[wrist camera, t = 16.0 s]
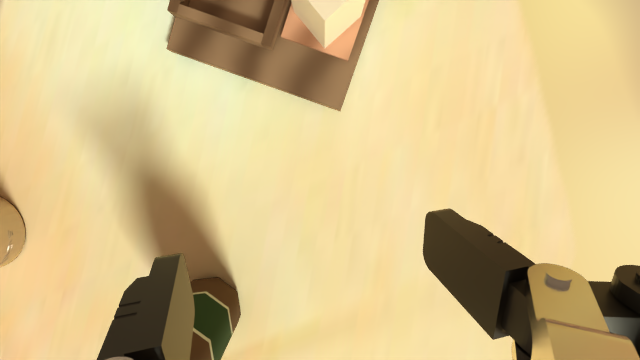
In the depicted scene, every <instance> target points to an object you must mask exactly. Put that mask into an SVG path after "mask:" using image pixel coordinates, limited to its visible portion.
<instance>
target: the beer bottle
mask: <svg viewBox="0 0 640 360" xmlns="http://www.w3.org/2000/svg"><path fill="white" fill-rule="evenodd" d="M190 284H191V288H192V292H193V298H194V307H195V316H194V326H193V335H192V344H191V353H190V360H221V358H222V355H223V353H224V351H225V349H226V347H227V345H228V343H229V340H230V338H231V336H232V334H233V332H234V330H235V328H236V326H237V323H238V321H239V318H240V315H241V312H240V306H239V300H238V293H237V291H236V290H235V289H233V288H232V287H231V286H229V285H228V284H227V283H225V282H224V281H222V280H221V279H220V278H218V277H216V278H207V279H198V280H193V281H192V282H191V283H190Z"/></svg>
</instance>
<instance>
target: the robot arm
mask: <svg viewBox="0 0 640 360" xmlns="http://www.w3.org/2000/svg"><path fill="white" fill-rule="evenodd" d="M24 242H25V227H24V224H23V220H22V218H21V216H20V214H19V213H18V211H17V210H16V209H15V208H14V206H13V205H12V204H10V203H9V202H8V201H7V200H5V199H3V198H2V197H0V267H2V266H5V265H7V264H8V263H10V262H12V261H13V260H14V259H15V258H16V257H17V256H18V255H19V254H20V252H21V251H22V248H23V245H24ZM423 256H424V260H425V263H426V265H427V267H428V268H429V270H430V271H431V272H432V273H433V274H434V275H435V276H436V277H437V278H438V279H439V281H440V282H441V283H442V284H443V285H444V286H445V287H446V288H447V289H448V291H449V292H450V293H451V294H452V295H453V296H454V297H455V298H456V299H457V300H458V302H459V303H460V304H461V305H462V306H463V307H464V308H465V309H466V310H467V312H468V313H469V314H470V315H471V316H472V317H473V318H474V319H475V320H476V321H477V323H478V324H479V325H480V326H481V327H482V328H483V329H484V330H485V331H486V333H487V334H488V335H489V336H490V337H491V338H492V339H493V340H494V339H497V338H501V337H505V336H509V335H510V336H511V337H512V338H513V343H512V349H511V350H512V360H640V266H636V265H623V266H620V267H618V268H617V269H616V270H615V273H614V276H613V279H612V282H594V281H587V280H586V279H585V278H584V277H582V276H581V275H580V274H578V273H577V272H575V271H573V270H571V269H568V268H566V267H563V266H559V265H555V264H547V263H541V264H535V263H533V262H532V261H531V260H529V259H528V258H526V257H525V256H524V255H522V254H521V253H519V252H518V251H517V250H515V249H514V248H512V247H511V246H510V245H508V244H507V243H503V241H502V240H501V239H500V238H498V237H497V236H494V235H493V233H491V232H490V231H488V230H487V229H486V228H484V227H483V226H481V225H478V224H476V223H473V222H471V221H469V220H466V219H464V218H463V217H462V216H460V215H459V214H458V213H456V212H455V211H453V210H452V209H443V210H437V211H432V212H428V213H427V215H426V218H425V230H424V244H423ZM194 316H195V307H194V298H193V292H192V288H191V284H190V279H189V275H188V270H187V266H186V262H185V258H184V255H183V254H182V253H180V254H174V255H168V256H162V257H156V258H155V259H154V262H153V265H152V268H151V271H150V274H149V276H147V277H141V278H137V279H136V280H135V281H134V282H133V283H132V284H131V285H130V286H129V287H128V288H127V289H126V290H125V291H124V294H123V296H122V299H121V301H120V303H119V308H117V311H116V313H115V316H114V320H113V321H112V323H111V326H110V328H109V331H108V333H107V336H106V338H105V341H104V343H103V345H102V348H101V350H100V353H99V355H98V358H97V360H190V353H191V344H192V335H193V326H194Z"/></svg>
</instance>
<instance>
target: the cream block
mask: <svg viewBox="0 0 640 360" xmlns="http://www.w3.org/2000/svg"><path fill="white" fill-rule="evenodd" d="M365 1H366V0H291V2H292V6H293V10H294V12H295V14H296V15H297V16H298V17H299V18H300V20H301V21H302V22H303V23H304V24H305V26H306V27H307V28H308V29H309V30H310V32H311V33H312V34H313V35H314V36H315V38H316V39H317V40H318V41H319V43H320V44H321V45H322V46H323V47H324V49H325V48H326V47H327V46H328V45H330V44H331V43H332V42H333V41H334V40H335V39H336V38H337V37H338V36H340V35H341V34H342V33H343V32H344V31H345V30H346V29H347V28H349V27H350V26H351V25H352V24H353V23H354V22H355V21H356V20H357V19H359V18H360V17H361V14H362V11H363V7H364V4H365Z"/></svg>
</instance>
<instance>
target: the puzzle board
mask: <svg viewBox="0 0 640 360" xmlns="http://www.w3.org/2000/svg"><path fill="white" fill-rule="evenodd" d="M378 2H379V0H366V1H365V4H364V7H363V11H362V14H361V17H360V18H359V19H357V20H356V21H355V22H354V23H353V24H352V25H351V26H350V27H349V28H347V29H346V30H345V31H344V32H343V33H342V34H341V35H340V36H338V37H337V38H336V39H335V40H334V41H333V42H332V43H331V44H330V45H328V46H327V47H326V48H325V49H324V47H323V46H322V45H321V44H320V43H319V41H318V40H317V39H316V38H315V36H314V35H313V34H312V33H311V32H310V30H309V29H308V28H307V27H306V26H305V24H304V23H303V22H302V21H301V20H300V18H299V17H298V16H297V15H296V14H295V12H294V10H293V6H292V2H291V0H170V2H169V6H168V11H169V12H170V13H171V14H173V15H174V16H175V21H174V24H173V28H172V32H171V35H170V39H169V42H168V46H167V49H168V50H169V51H171V52H174V53H177V54H180V55H182V56H185V57H188V58H191V59H194V60H196V61H199V62H202V63H205V64H208V65H211V66H213V67H216V68H219V69H222V70H225V71H228V72H230V73H233V74H236V75H239V76H242V77H245V78H247V79H250V80H253V81H256V82H259V83H261V84H264V85H267V86H270V87H273V88H276V89H278V90H281V91H284V92H287V93H290V94H293V95H295V96H298V97H301V98H304V99H307V100H310V101H312V102H315V103H318V104H321V105H324V106H327V107H329V108H332V109H335V110H338V111H340V110H341V107H342V105H343V102H344V99H345V96H346V93H347V90H348V87H349V85H350V82H351V79H352V76H353V73H354V70H355V67H356V65H357V62H358V59H359V56H360V53H361V50H362V47H363V45H364V42H365V39H366V36H367V33H368V30H369V27H370V25H371V22H372V19H373V16H374V13H375V10H376V7H377V4H378Z"/></svg>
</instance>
